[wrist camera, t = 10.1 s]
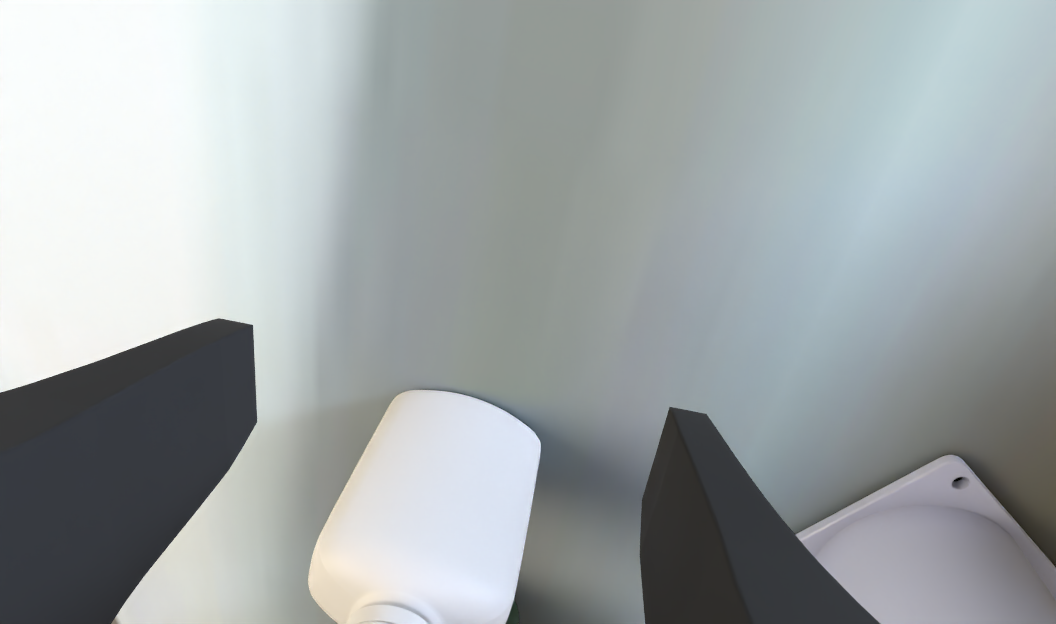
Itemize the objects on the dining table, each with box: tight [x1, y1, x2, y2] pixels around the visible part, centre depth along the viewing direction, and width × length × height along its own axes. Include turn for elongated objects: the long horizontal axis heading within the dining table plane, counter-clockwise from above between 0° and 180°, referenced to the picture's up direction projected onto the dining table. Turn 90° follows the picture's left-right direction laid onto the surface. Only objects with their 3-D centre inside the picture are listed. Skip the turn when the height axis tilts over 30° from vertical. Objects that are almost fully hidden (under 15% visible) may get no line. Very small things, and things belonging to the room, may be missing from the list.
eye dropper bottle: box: [308, 390, 541, 624], centre depth 19 cm, size 4×6×12 cm
